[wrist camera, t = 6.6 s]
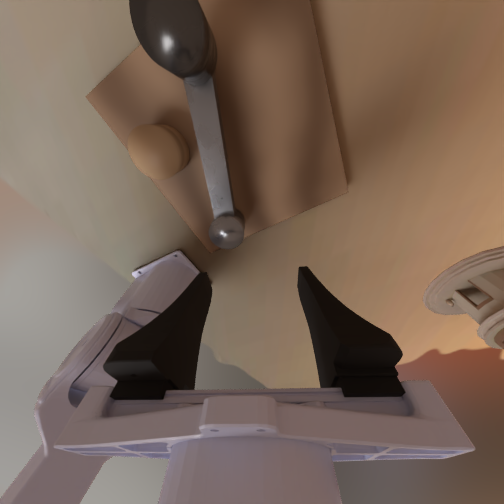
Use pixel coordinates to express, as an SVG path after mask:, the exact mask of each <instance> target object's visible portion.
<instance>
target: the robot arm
mask: <svg viewBox="0 0 504 504" xmlns="http://www.w3.org/2000/svg"><path fill="white" fill-rule="evenodd" d="M176 255H177V256H176ZM132 275H133V276H134V277H135V278H136V279H135V280H134V281H133V283H132V284H131V285H130V287H129V288H128V289H127V290H126V292H125V293H124V295H123V296H122V297H121V298H120V300H119V301H118V302H117V303H116V305H115V306H114V308H113V309H112V311H111V314H108V315H105V316H104V317H102V318H101V319H100V320H99V321H98V322H97V323H96V324H95V325H94V326H93V327H92V328H91V329H90V330H89V331H88V332H87V333H86V334H85V336H84V337H83V338H82V339H81V340H80V341H79V342H78V343H77V345H76V346H75V347H74V348H73V349H72V351H71V352H70V353H69V355H68V356H67V357H66V358H65V360H64V361H63V362H62V364H61V365H60V367H59V368H58V370H57V371H56V372H55V373H54V374H53V376H52V377H51V378H50V379H49V380H48V381H47V383H46V384H45V386H44V387H43V389H42V390H41V392H40V394H39V396H38V401H37V403H36V405H35V408H34V415H35V420H36V423H37V426H38V429H39V432H40V435H41V439H42V442H43V444H42V445H41V446H40V447H39V449H38V450H37V451H36V453H35V454H34V455H33V457H32V458H31V459H30V460H29V462H28V463H27V465H26V466H25V467H24V468H23V470H22V471H21V472H20V473H19V475H18V476H17V478H16V479H15V480H14V481H13V483H12V484H11V485H10V487H9V488H8V489H7V490H6V492H5V493H4V494H3V496H2V497H1V498H0V504H80V502H81V500H82V499H83V497H84V495H85V494H86V492H87V490H88V489H89V487H90V485H91V484H92V482H93V480H94V479H95V477H96V475H97V474H98V472H99V470H100V469H101V467H102V465H103V464H104V463H105V462H106V461H107V460H108V459H110V458H112V457H113V456H122V457H140V458H158V459H169V462H168V466H167V470H166V474H165V478H164V482H163V485H162V489H161V493H160V497H159V501H158V504H342V500H341V496H340V492H339V487H338V483H337V479H336V474H335V471H334V466H333V461H358V460H384V459H386V460H387V459H445V458H448V457H452V456H456V455H460V454H463V453H467V452H471V451H474V450H475V447H474V445H473V444H472V443H471V441H470V440H469V438H468V437H467V436H466V434H465V432H464V431H463V429H462V428H461V426H460V425H459V423H458V422H457V420H456V419H455V418H454V416H453V415H452V413H451V412H450V410H449V409H448V407H447V406H446V404H445V403H444V401H443V400H442V398H441V397H440V396H439V394H438V392H437V391H436V390H435V388H434V387H433V385H432V384H431V382H430V381H428V380H407V381H403V382H400V381H399V380H398V378H397V376H398V372H397V370H396V369H395V365H396V364H397V363H398V362H399V361H400V359H401V358H402V355H403V353H402V351H401V349H400V348H399V346H398V344H397V343H396V342H395V340H394V339H393V338H392V336H391V335H390V334H389V333H387V332H385V331H383V330H382V329H380V328H378V327H376V326H374V325H373V324H371V323H369V322H368V321H366V320H365V319H363V318H362V317H360V316H359V315H357V314H356V313H354V312H353V311H352V310H350V309H349V308H347V307H346V306H345V305H344V304H342V303H341V302H340V301H339V300H338V299H337V298H336V297H334V296H333V295H332V294H331V293H330V292H329V291H328V290H327V289H326V288H325V287H324V286H323V285H322V283H321V282H320V281H319V280H318V279H317V278H316V277H315V275H314V274H313V273H312V272H311V270H310V269H309V268H308V267H307V266H306V267H299V272H298V284H297V286H298V292H299V297H300V301H301V304H302V307H303V310H304V313H305V316H306V319H307V322H308V326H309V329H310V334H311V339H312V343H313V348H314V353H315V358H316V364H317V369H318V375H319V381H320V386H321V388H289V389H226V390H225V389H224V390H194V388H195V378H196V370H197V362H198V355H199V349H200V343H201V337H202V332H203V328H204V324H205V321H206V317H207V314H208V310H209V307H210V303H211V297H212V287H211V284H210V281H209V278H208V275H207V272H204V273H200V272H199V270H198V269H197V268H196V267H195V266H194V265H193V264H192V263H191V262H190V260H189V259H188V258H187V257H186V256H185V255H184V254H183V253H182V252H181V251H179V250H177V251H175V252H173V253H171V254H169V255H166V256H164V257H162V258H160V259H158V260H156V261H154V262H152V263H150V264H148V265H145V266H143V267H141V268H139V269H137V270H135V271H133V272H132Z"/></svg>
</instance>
